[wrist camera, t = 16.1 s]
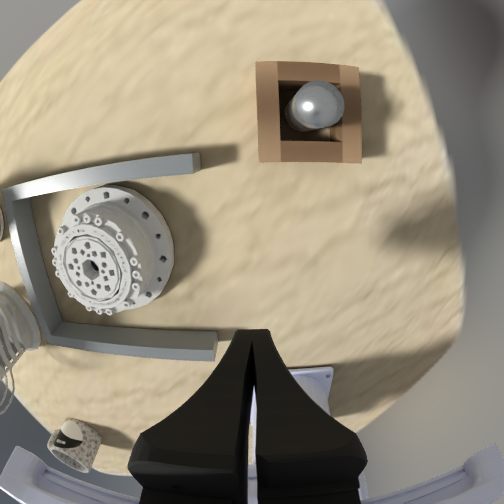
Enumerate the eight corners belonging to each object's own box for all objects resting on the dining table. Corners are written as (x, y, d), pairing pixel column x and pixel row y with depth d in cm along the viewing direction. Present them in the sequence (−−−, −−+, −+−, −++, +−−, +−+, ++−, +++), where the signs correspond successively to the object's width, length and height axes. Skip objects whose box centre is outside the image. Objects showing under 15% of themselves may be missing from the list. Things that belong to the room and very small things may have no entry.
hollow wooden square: (346, 160, 18) (361, 163, 15) (258, 159, 18) (259, 162, 16) (344, 77, 16) (358, 67, 13) (255, 73, 16) (255, 61, 13)
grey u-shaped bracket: (218, 342, 24) (214, 361, 21) (59, 329, 24) (47, 343, 22) (200, 152, 18) (192, 153, 16) (19, 183, 19) (1, 189, 16)
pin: (321, 131, 18) (345, 128, 12) (285, 131, 18) (297, 126, 13) (319, 97, 17) (343, 82, 12) (284, 97, 17) (294, 79, 12)
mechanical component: (176, 308, 23) (177, 186, 19) (162, 341, 19) (156, 198, 15) (77, 292, 23) (65, 183, 19) (52, 317, 19) (31, 195, 15)
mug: (85, 419, 31) (70, 453, 24) (109, 444, 33) (97, 476, 27) (46, 413, 32) (31, 440, 26) (69, 437, 34) (56, 464, 28)
